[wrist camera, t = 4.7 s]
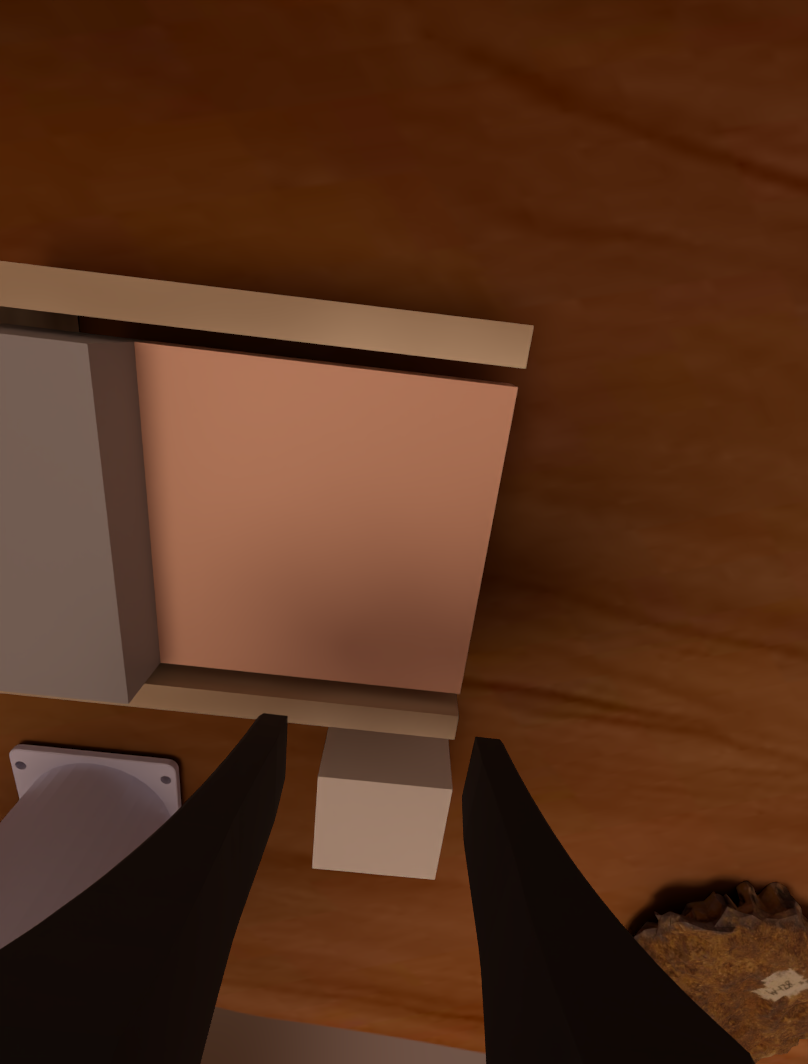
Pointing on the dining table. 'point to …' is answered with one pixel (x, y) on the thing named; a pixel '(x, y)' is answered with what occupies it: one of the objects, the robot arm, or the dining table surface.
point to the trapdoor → (237, 515)
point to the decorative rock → (740, 964)
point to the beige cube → (381, 803)
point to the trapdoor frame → (68, 293)
